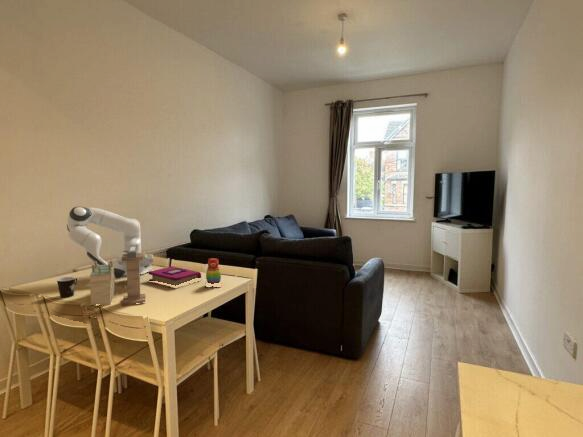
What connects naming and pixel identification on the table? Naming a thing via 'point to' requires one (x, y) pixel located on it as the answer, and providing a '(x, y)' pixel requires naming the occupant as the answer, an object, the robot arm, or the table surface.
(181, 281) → the book
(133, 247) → the remote
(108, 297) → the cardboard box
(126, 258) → the walnut stand
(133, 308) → the table surface
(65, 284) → the coffee mug
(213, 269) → the stacking bear
